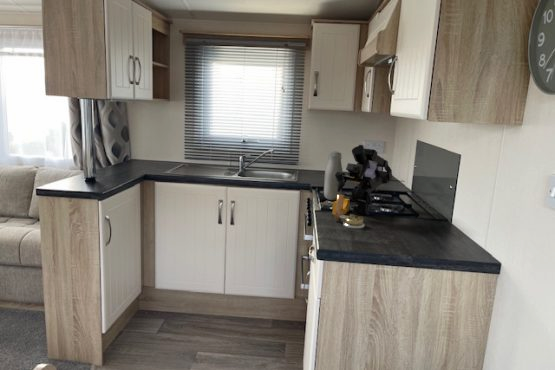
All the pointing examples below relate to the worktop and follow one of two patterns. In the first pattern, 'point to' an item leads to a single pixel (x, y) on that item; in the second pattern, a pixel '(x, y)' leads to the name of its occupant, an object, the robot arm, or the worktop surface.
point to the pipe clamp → (345, 206)
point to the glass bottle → (332, 175)
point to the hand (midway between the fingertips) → (346, 193)
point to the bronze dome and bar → (348, 219)
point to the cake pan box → (372, 170)
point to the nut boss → (353, 226)
